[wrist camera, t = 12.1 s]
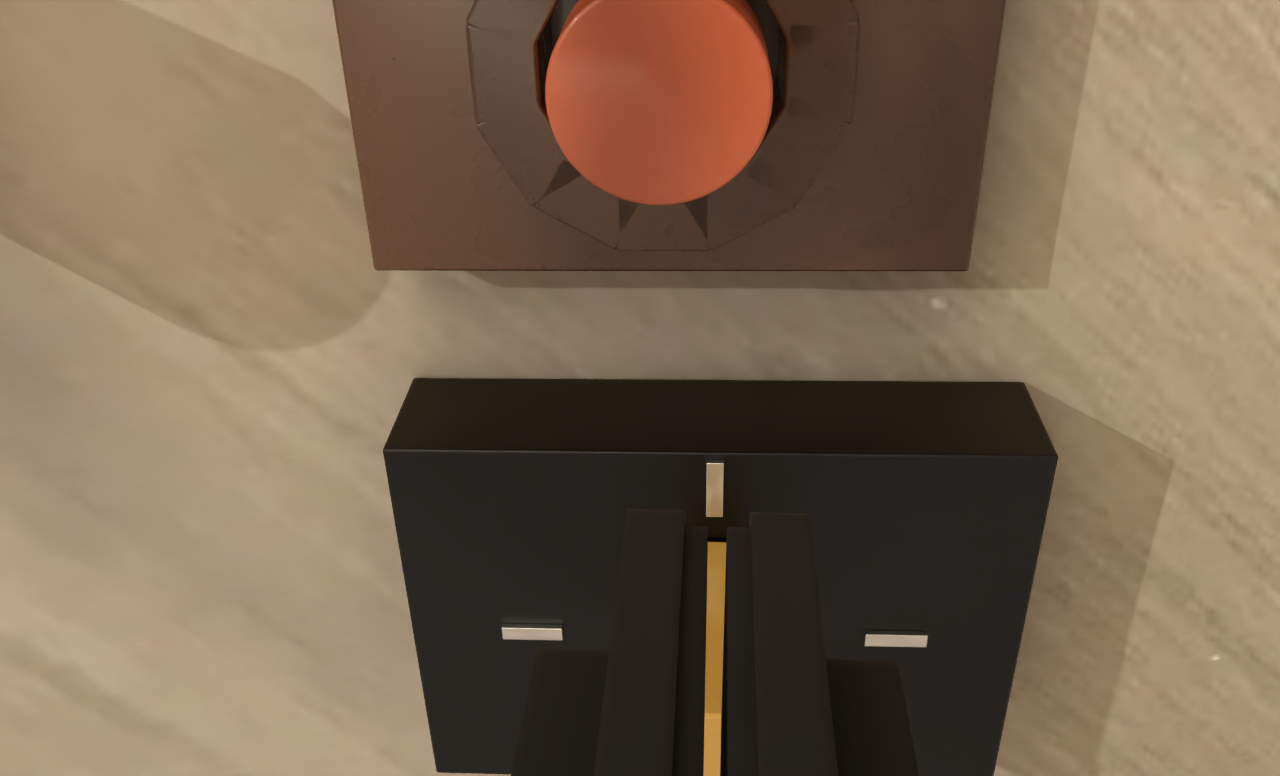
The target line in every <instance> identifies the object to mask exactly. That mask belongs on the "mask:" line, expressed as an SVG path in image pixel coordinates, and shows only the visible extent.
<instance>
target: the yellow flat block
mask: <svg viewBox="0 0 1280 776" xmlns="http://www.w3.org/2000/svg"><path fill="white" fill-rule="evenodd" d="M725 573H726V542H708V560H707V614H706V668H705V722H704V774H703V776H720V754H721V712H722V677H723V643H724V608H725Z"/></svg>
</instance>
